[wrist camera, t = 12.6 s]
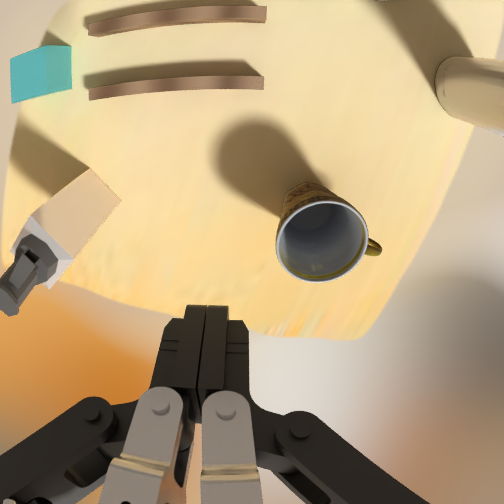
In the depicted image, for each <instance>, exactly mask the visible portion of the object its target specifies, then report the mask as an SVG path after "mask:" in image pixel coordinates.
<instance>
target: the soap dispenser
mask: <svg viewBox="0 0 504 504" xmlns="http://www.w3.org/2000/svg"><path fill="white" fill-rule="evenodd" d="M120 202H121V200H120V199H119V198H118V197H117V196H116V195H115V194H114V192H113V191H112V190H111V189H110V188H109V187H108V186H107V185H106V184H105V183H104V182H103V181H102V180H101V179H100V178H99V177H98V176H97V175H96V174H95V173H94V172H93V170H92V169H91V168H89V169H88V170H87V171H85V172H84V173H83V174H81V175H80V176H78V177H77V178H76V179H74V180H73V181H72V182H71V183H69V184H68V185H67V186H65V187H64V188H63V189H61V190H60V191H59V192H58V193H56V194H55V195H54V196H53V197H51V198H50V199H49V200H48V201H47V202H45V203H44V204H43V205H42V206H41V207H39V208H38V209H37V210H36V211H35V212H33V213H32V214H31V215H30V217H29V218H28V220H27V222H26V223H25V225H24V227H23V228H22V230H21V232H20V234H19V235H18V237H17V239H16V241H15V243H14V244H13V246H12V248H11V250H10V251H11V252H12V253H13V254H14V255H15V259H14V263H13V264H12V265H11V266H10V267H9V268H8V270H7V271H6V272H5V273H4V274H3V275H2V277H1V278H0V310H2V311H3V312H4V313H5V314H7V315H8V316H13V315H17V314H18V312H19V307H20V305H21V304H22V303H23V301H24V300H25V298H26V297H27V296H28V294H29V293H30V291H31V290H32V289H33V287H34V286H35V285H38V284H40V283H43V284H44V285H45V286H46V287H47V288H48V289H50V288H51V287H52V286H53V284H54V283H55V282H56V281H57V280H58V278H59V277H60V276H61V275H62V274H63V272H64V271H65V270H66V269H67V268H68V266H69V265H70V264H71V263H72V262H73V261H74V259H75V258H76V257H77V255H78V254H79V253H80V251H81V250H82V249H83V248H84V246H85V245H86V244H87V242H88V241H89V240H90V239H91V237H92V236H93V235H94V233H95V232H96V231H97V230H98V228H99V227H100V226H101V225H102V224H103V222H104V221H105V220H106V219H107V217H108V216H109V215H110V214H111V213H112V211H113V210H114V209H115V208H116V207H117V206H118V204H119V203H120Z"/></svg>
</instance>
